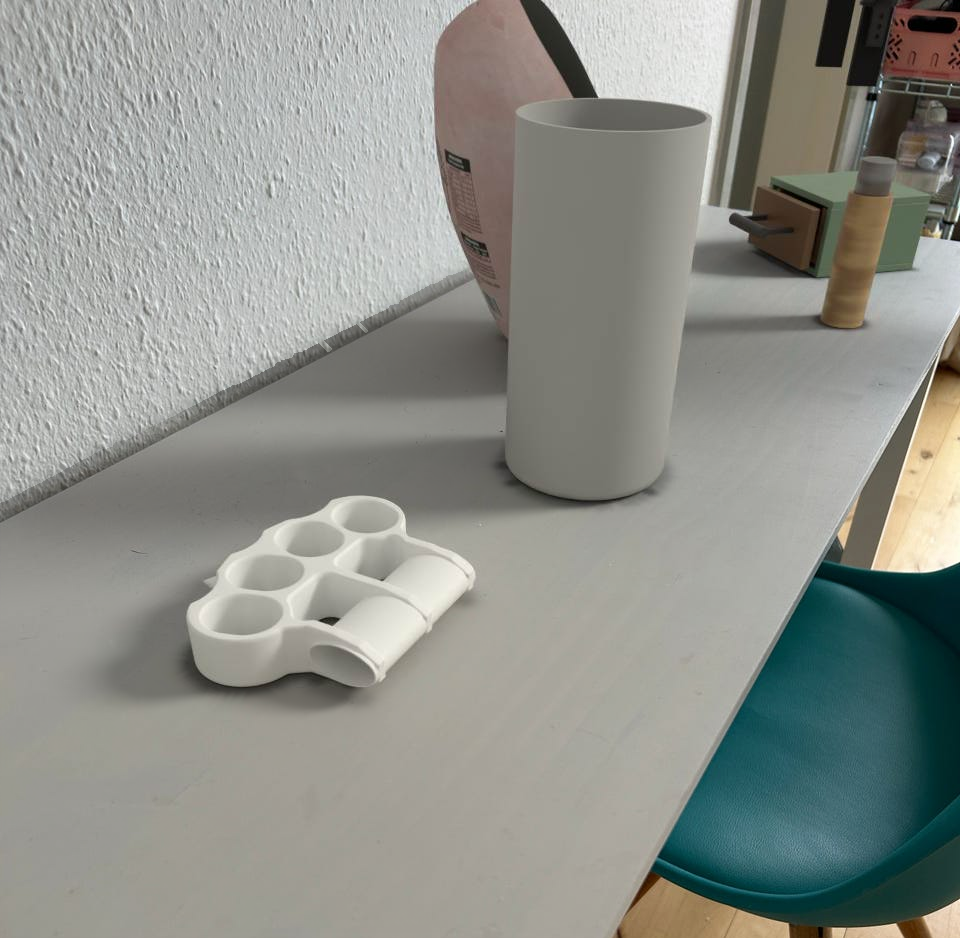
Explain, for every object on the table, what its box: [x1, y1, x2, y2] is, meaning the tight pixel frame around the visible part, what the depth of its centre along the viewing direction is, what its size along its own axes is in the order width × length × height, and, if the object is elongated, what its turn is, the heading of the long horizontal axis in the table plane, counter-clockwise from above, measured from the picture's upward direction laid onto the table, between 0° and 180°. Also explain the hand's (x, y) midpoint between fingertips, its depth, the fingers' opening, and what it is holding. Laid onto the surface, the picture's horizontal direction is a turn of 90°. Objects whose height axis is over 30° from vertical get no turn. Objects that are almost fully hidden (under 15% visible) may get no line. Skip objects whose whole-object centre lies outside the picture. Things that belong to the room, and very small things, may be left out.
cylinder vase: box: [504, 97, 713, 501], centre depth 71 cm, size 12×12×25 cm
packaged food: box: [433, 0, 599, 341], centre depth 89 cm, size 22×20×30 cm
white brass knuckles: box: [185, 495, 477, 688], centre depth 61 cm, size 3×18×15 cm
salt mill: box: [819, 155, 898, 329], centre depth 102 cm, size 4×4×16 cm
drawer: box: [728, 185, 828, 271], centre depth 122 cm, size 17×12×7 cm
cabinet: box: [768, 170, 932, 279], centre depth 123 cm, size 14×14×9 cm
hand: (843, 76), depth 101 cm, fingers open, 13 cm apart
